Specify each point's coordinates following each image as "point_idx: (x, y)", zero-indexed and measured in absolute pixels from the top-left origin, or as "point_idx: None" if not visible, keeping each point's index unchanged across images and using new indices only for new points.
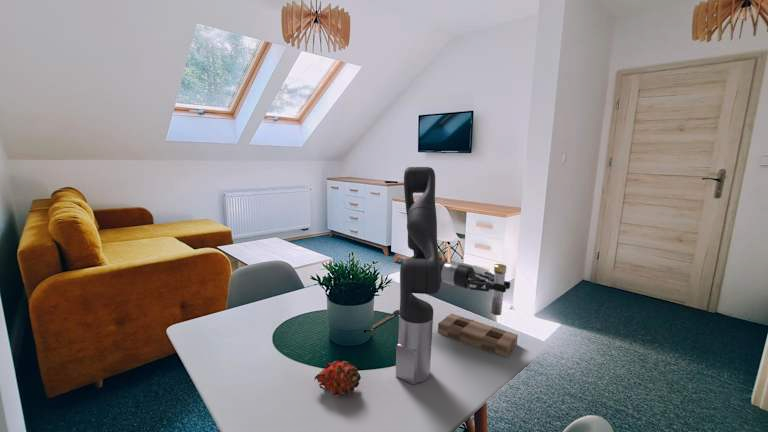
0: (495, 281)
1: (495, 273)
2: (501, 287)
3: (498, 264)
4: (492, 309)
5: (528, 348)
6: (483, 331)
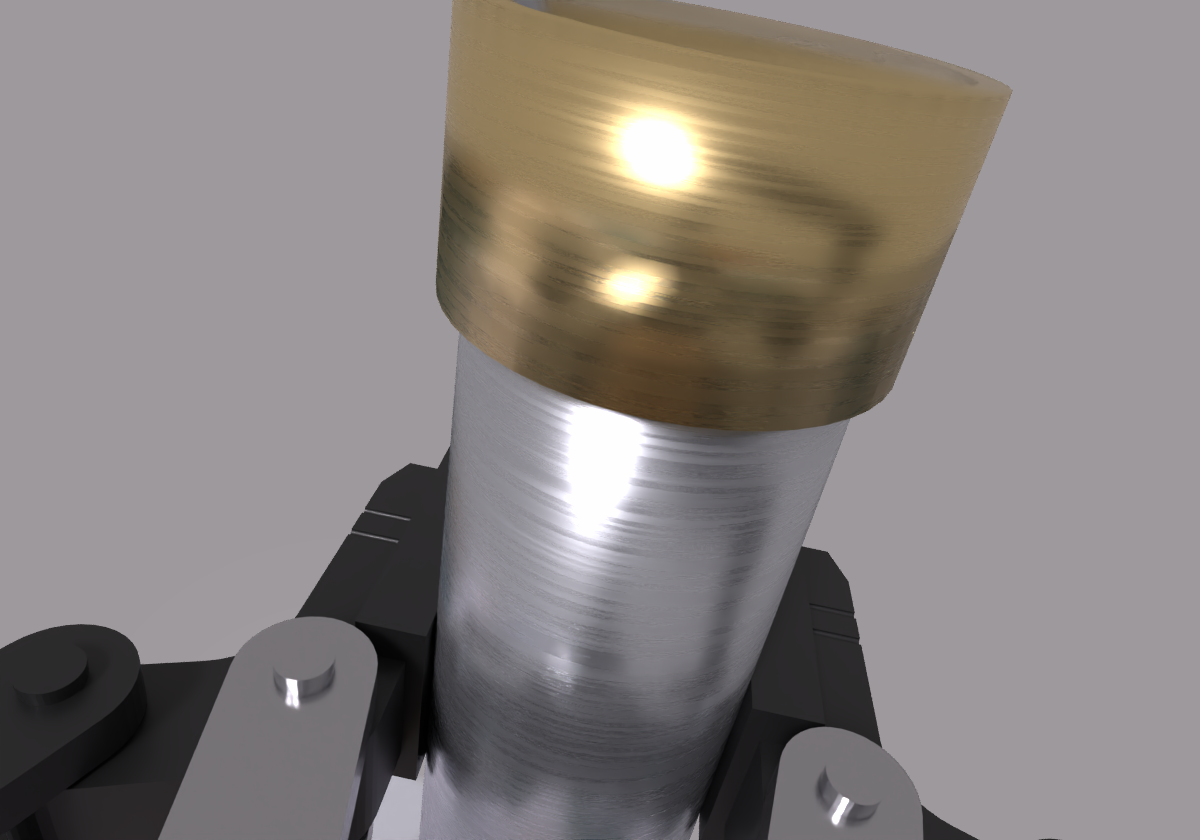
0: (750, 664)
1: (828, 445)
2: (844, 584)
3: (581, 12)
4: None
5: (391, 828)
6: None
